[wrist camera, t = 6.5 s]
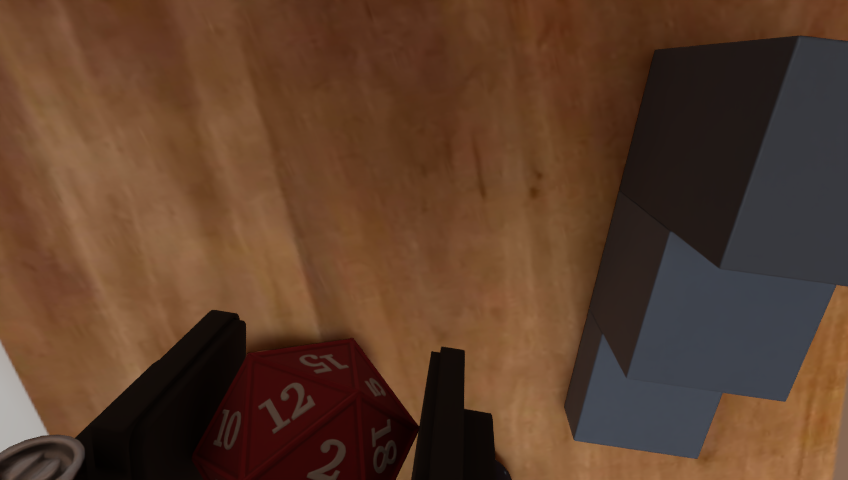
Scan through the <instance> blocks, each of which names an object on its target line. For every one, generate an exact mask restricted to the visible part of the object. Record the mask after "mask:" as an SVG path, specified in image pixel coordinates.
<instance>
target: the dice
mask: <svg viewBox="0 0 848 480" xmlns="http://www.w3.org/2000/svg"><path fill="white" fill-rule="evenodd" d="M419 430H420V427H419V426H418V424H417V423H416V422H415V421H414V419H413V418H412V417H411V415H410V414H409V413H408V411H407V410H406V409H405V407H404V406H403V405H402V403H401V402H400V401H399V399H398V398H397V397H396V395H395V394H394V392H393V391H392V390H391V388H390V387H389V386H388V384H387V383H386V382H385V380H384V379H383V378H382V376H381V375H380V374H379V372H378V371H377V369H376V368H375V367H374V365H373V364H372V363H371V361H370V360H369V359H368V357H367V356H366V355H365V353H364V352H363V351H362V349H361V348H360V346H359V345H358V344H357V342H356V341H355V340H354V338H350V339H345V340H338V341H331V342H324V343H317V344H310V345H303V346H296V347H289V348H282V349H275V350H268V351H261V352H252V353H248V354H247V356H246V358H245V360H244V362H243V364H242V365H241V367H240V369H239V371H238V373H237V374H236V376H235V378H234V380H233V382H232V384H231V385H230V387H229V389H228V391H227V393H226V394H225V396H224V398H223V400H222V402H221V403H220V405H219V407H218V409H217V411H216V412H215V414H214V416H213V418H212V420H211V422H210V423H209V425H208V427H207V429H206V431H205V432H204V434H203V436H202V438H201V440H200V441H199V443H198V445H197V447H196V449H195V450H194V452H193V455H192V458H191V459H192V462H193V463H194V464H195V466H196V468H197V469H198V471H199V473H200V474H201V476H202V478H203V479H204V480H396V478H397V476H398V474H399V471H400V469H401V467H402V465H403V463H404V461H405V459H406V457H407V455H408V453H409V450H410V448H411V446H412V444H413V442H414V440H415V438H416V436H417V434H418V431H419Z"/></svg>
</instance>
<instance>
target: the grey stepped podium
mask: <svg viewBox="0 0 848 480" xmlns="http://www.w3.org/2000/svg"><path fill="white" fill-rule="evenodd" d="M836 285H841V286H848V41H843V40H834V39H826V38H817V37H809V36H791V37H781V38H770V39H760V40H750V41H740V42H730V43H719V44H709V45H699V46H689V47H678V48H668V49H658V50H655V52H654V56H653V59H652V63H651V67H650V71H649V75H648V79H647V83H646V87H645V91H644V95H643V99H642V103H641V107H640V111H639V114H638V118H637V122H636V126H635V130H634V134H633V138H632V142H631V146H630V150H629V154H628V158H627V162H626V166H625V169H624V173H623V177H622V181H621V185H620V191H619V193H618V197H617V201H616V205H615V209H614V213H613V217H612V220H611V224H610V228H609V232H608V236H607V240H606V244H605V248H604V252H603V256H602V260H601V264H600V268H599V272H598V275H597V279H596V283H595V287H594V291H593V295H592V299H591V303H590V309H589V311H588V315H587V319H586V323H585V327H584V331H583V335H582V339H581V343H580V347H579V351H578V355H577V359H576V363H575V366H574V370H573V374H572V378H571V382H570V386H569V390H568V394H567V398H566V402H565V406H564V408H565V411H566V415H567V418H568V422H569V425H570V429H571V432H572V436H573V439H574V440H575V441H581V442H587V443H594V444H601V445H607V446H614V447H621V448H627V449H634V450H641V451H648V452H654V453H661V454H668V455H674V456H681V457H688V458H694V459H697V458H698V456H699V454H700V451H701V448H702V446H703V443H704V440H705V438H706V435H707V433H708V430H709V427H710V425H711V422H712V419H713V417H714V414H715V412H716V409H717V406H718V404H719V401H720V398H721V396H722V393H729V394H736V395H742V396H749V397H756V398H763V399H770V400H777V401H784V402H785V401H786V400H787V397H788V395H789V393H790V391H791V388H792V386H793V384H794V381H795V379H796V377H797V374H798V372H799V370H800V368H801V365H802V363H803V361H804V358H805V356H806V354H807V352H808V349H809V347H810V345H811V342H812V340H813V338H814V335H815V333H816V331H817V329H818V326H819V324H820V322H821V319H822V317H823V315H824V312H825V310H826V308H827V306H828V303H829V301H830V299H831V296H832V294H833V292H834V290H835V287H836Z"/></svg>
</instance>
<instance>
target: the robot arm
mask: <svg viewBox="0 0 848 480" xmlns="http://www.w3.org/2000/svg"><path fill="white" fill-rule="evenodd" d="M245 358H246V323H245V322H244V321H241V320H240V319H239V316H238V314H237V313H231V312H224V311H218V310H211V311H210V312H209V313H208V314H207V315H206V316H205V317H203V318H202V319H201V320H200V321H199V322H198V323H197V324H196V325H195V326H194V327H193V328H192V329H191V330H190V331H189V332H188V333H187V334H186V335H185V336H184V337H183V338H182V339H181V340H180V341H178V342H177V343H176V344H175V345H174V346H173V347H172V348H171V349H170V350H169V351H168V352H167V353H166V354H165V355H164V356H163V357H162V358H161V359H160V360H158V361H156V362H155V363H153V364H152V365H151V366H150V367H149V368H148V369H147V370H146V371H145V372H144V373H143V374H142V375H141V376H140V377H139V378H137V379H136V380H135V381H134V382H133V383H132V384H131V385H130V386H129V387H128V388H127V389H126V390H125V391H124V392H123V393H122V394H121V395H120V396H119V397H118V398H116V399H115V400H114V401H113V402H112V403H111V404H110V405H109V406H108V407H107V408H106V409H105V410H104V411H103V412H102V413H101V414H100V415H99V416H98V417H97V418H95V419H94V420H93V421H92V422H91V423H90V424H89V425H88V426H87V427H86V428H85V429H84V430H83V431H82V432H81V433H80V434H79V435H78V436H77V437H76V438H73V437H70V436H65V435H47V436H40V437H36V438H32V439H28V440H25V441H23V442H20V443H18V444H15V445H13V446H11V447H9V448H7V449H6V450H4V451H2V452H1V453H0V480H204V479H203V478H202V476H201V474H200V473H199V471H198V469H197V468H196V466H195V464H194V463H193V462H192V459H191V458H192V455H193V452H194V450H195V449H196V447H197V445H198V443H199V441H200V440H201V438H202V436H203V434H204V432H205V431H206V429H207V427H208V425H209V423H210V422H211V420H212V418H213V416H214V414H215V412H216V411H217V409H218V407H219V405H220V403H221V402H222V400H223V398H224V396H225V394H226V393H227V391H228V389H229V387H230V385H231V384H232V382H233V380H234V378H235V376H236V374H237V373H238V371H239V369H240V367H241V365H242V364H243V362H244V360H245ZM464 368H465V351H464V350H460V349H454V348H448V347H441V351H440V353H439V352H433V351H432V352H431V357H430V363H429V370H428V376H427V382H426V388H425V395H424V401H423V407H422V413H421V420H420V426H419V427H420V430H419V432H418V438H417V444H416V451H415V458H414V465H413V472H412V480H497V477H496V462H495V447H494V432H493V419H492V415H491V413H485V412H479V411H473V410H467V409H464Z"/></svg>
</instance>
